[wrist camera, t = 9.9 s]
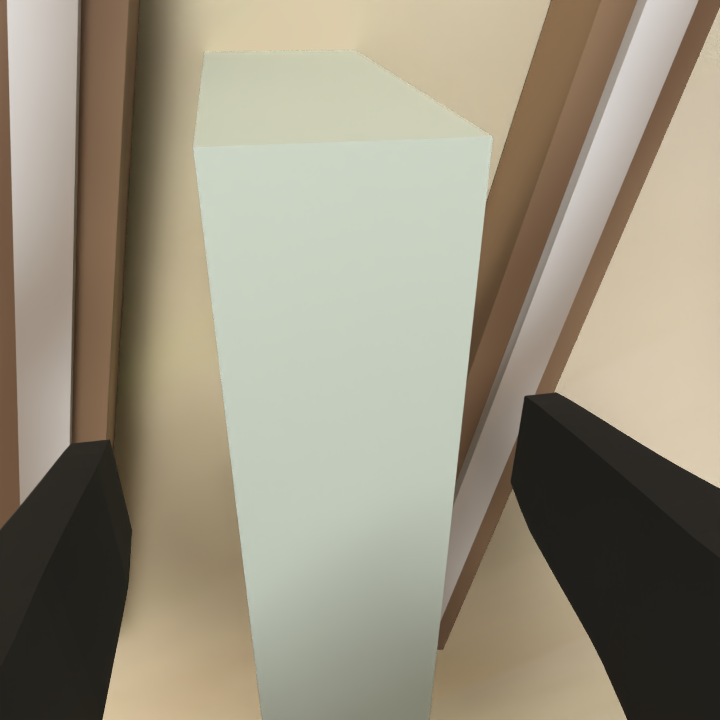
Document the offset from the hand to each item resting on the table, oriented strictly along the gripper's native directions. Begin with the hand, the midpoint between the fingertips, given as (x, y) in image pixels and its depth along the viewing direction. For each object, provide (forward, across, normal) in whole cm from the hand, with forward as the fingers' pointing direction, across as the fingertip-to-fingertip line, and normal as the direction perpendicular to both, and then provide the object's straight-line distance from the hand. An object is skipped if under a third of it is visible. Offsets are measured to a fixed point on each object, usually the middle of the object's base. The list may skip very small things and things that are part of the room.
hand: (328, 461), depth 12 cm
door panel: (+6, 0, 0) cm, 6 cm away
